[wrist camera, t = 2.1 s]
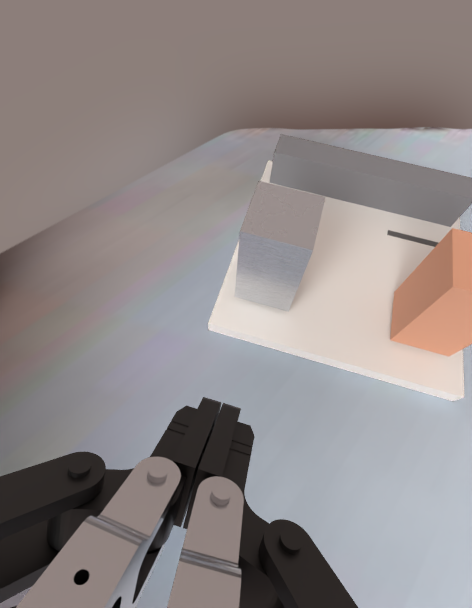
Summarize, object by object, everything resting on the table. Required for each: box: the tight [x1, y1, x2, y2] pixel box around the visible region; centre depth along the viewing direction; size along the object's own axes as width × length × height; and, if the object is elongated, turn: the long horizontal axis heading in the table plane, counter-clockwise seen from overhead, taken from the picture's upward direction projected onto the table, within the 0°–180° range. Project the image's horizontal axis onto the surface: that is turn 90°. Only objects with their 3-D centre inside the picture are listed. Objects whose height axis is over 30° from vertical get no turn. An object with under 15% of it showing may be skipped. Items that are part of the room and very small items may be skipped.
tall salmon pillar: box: [390, 228, 472, 356], centre depth 27 cm, size 5×5×9 cm
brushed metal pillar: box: [235, 181, 325, 312], centre depth 28 cm, size 5×5×9 cm
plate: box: [208, 134, 472, 401], centre depth 33 cm, size 22×22×6 cm
